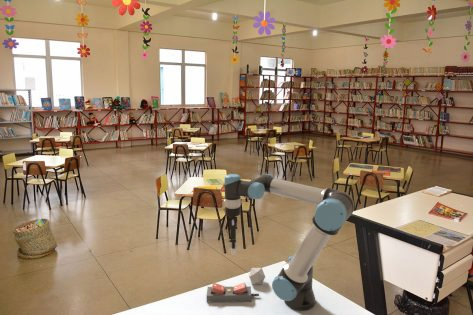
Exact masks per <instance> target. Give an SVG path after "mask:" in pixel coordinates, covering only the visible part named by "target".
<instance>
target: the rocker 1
mask: <svg viewBox="0 0 473 315" xmlns="http://www.w3.org/2000/svg"><path fill="white" fill-rule="evenodd" d="M211 287H212V290H211V292H214V293H217V294H223V293H224V289H225V287H226V286H225V285H222V284H219V283H217V282H212V286H211Z"/></svg>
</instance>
